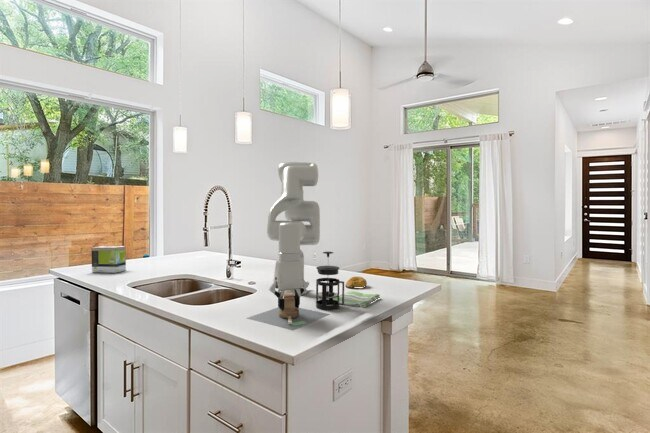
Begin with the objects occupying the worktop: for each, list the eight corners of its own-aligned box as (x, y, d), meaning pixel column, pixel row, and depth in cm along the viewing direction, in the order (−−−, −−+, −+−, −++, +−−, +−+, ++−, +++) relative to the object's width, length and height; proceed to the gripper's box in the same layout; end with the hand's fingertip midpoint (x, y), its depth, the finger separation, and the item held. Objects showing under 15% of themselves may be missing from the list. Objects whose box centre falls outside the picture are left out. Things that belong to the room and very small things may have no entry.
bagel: (341, 286, 190) (341, 276, 190) (360, 284, 194) (360, 275, 194) (351, 290, 181) (351, 280, 181) (370, 288, 185) (370, 278, 185)
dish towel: (320, 306, 154) (320, 297, 154) (347, 294, 174) (347, 287, 173) (358, 313, 145) (358, 304, 145) (381, 300, 165) (381, 292, 164)
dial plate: (285, 308, 148) (285, 304, 148) (329, 318, 137) (329, 313, 137) (246, 322, 131) (246, 317, 131) (293, 334, 119) (293, 329, 119)
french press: (310, 312, 143) (310, 252, 142) (318, 306, 152) (318, 249, 151) (340, 315, 140) (340, 254, 139) (346, 309, 149) (347, 251, 148)
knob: (278, 311, 138) (278, 292, 138) (297, 310, 139) (297, 292, 139) (279, 324, 123) (279, 303, 123) (300, 324, 124) (301, 303, 124)
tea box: (126, 270, 226) (126, 245, 225) (115, 273, 216) (115, 247, 215) (103, 269, 227) (102, 245, 227) (91, 272, 217) (90, 247, 217)
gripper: (305, 254, 140) (305, 302, 141) (262, 257, 132) (262, 309, 132) (315, 257, 134) (315, 307, 135) (270, 260, 125) (270, 314, 126)
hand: (289, 307), depth 134 cm, fingers closed on knob, 5 cm apart
